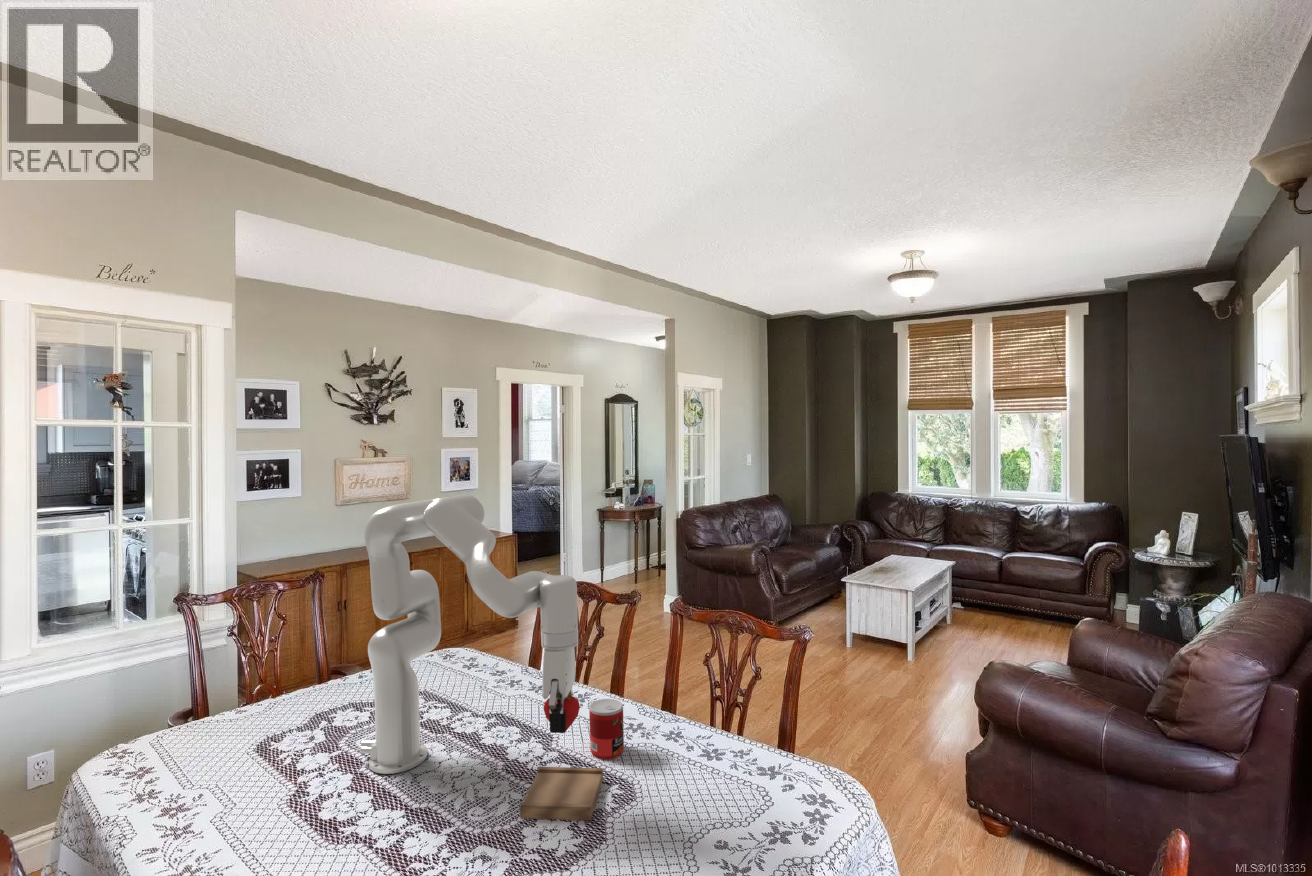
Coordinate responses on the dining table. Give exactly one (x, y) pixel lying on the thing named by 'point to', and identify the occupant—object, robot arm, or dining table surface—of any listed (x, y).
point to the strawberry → (565, 709)
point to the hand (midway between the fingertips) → (561, 723)
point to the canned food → (606, 728)
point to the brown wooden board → (563, 793)
